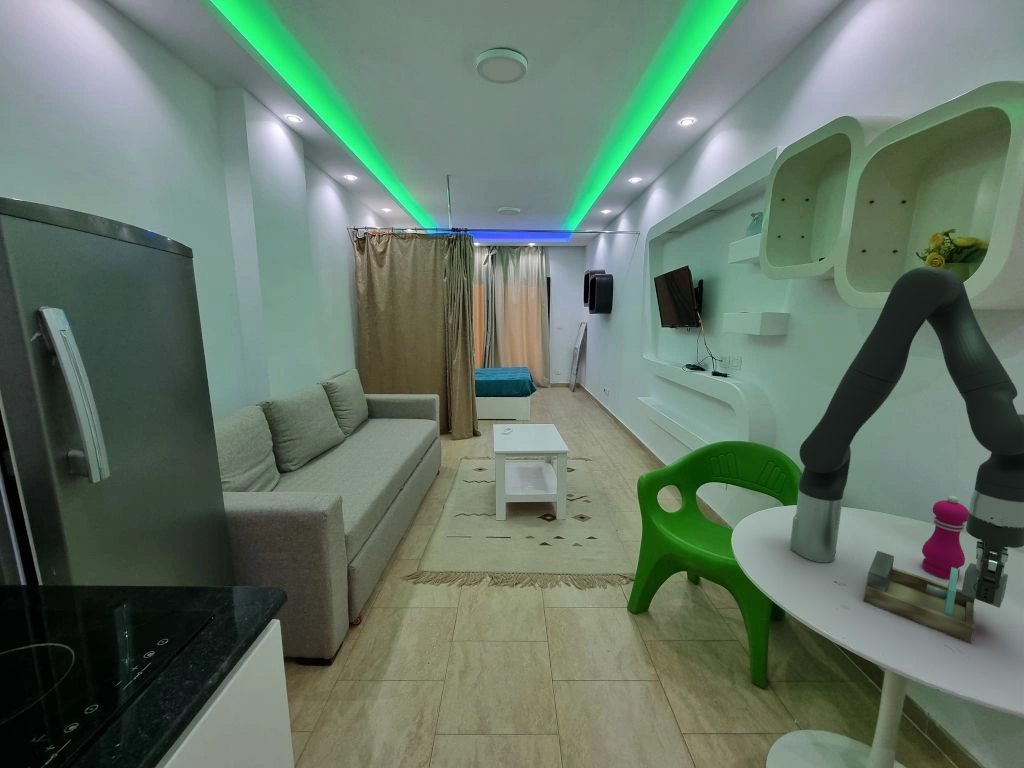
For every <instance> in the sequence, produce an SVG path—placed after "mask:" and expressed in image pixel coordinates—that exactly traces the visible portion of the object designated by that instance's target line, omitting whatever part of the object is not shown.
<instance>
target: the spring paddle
mask: <svg viewBox="0 0 1024 768" xmlns="http://www.w3.org/2000/svg"><path fill="white" fill-rule="evenodd" d="M958 569H959V568H958ZM958 569H956V568H953V567H952V568H951V573H950V579H948V585H947V586H948V589H947V591H946V590H943V589H940V588H937V587H934V586H931V585H928V584H927V590H926V592H929V593H932V594H934V595H937V596H940V597H943V598H946V600H945V607H944V614H945V615H948V616H952V611H953V606H954V600H955V595H956V589H958V588H957V586H958V579H959V577H958Z"/></svg>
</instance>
